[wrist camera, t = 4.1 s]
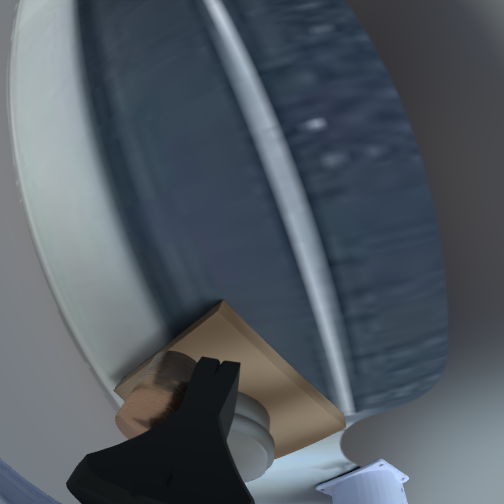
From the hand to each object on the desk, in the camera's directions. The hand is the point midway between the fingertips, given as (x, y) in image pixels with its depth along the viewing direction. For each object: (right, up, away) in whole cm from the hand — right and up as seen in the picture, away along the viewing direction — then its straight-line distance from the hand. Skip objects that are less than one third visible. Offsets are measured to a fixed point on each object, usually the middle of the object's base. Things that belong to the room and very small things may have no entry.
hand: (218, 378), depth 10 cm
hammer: (-1, -4, +2) cm, 5 cm away
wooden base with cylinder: (-1, -6, +8) cm, 11 cm away
